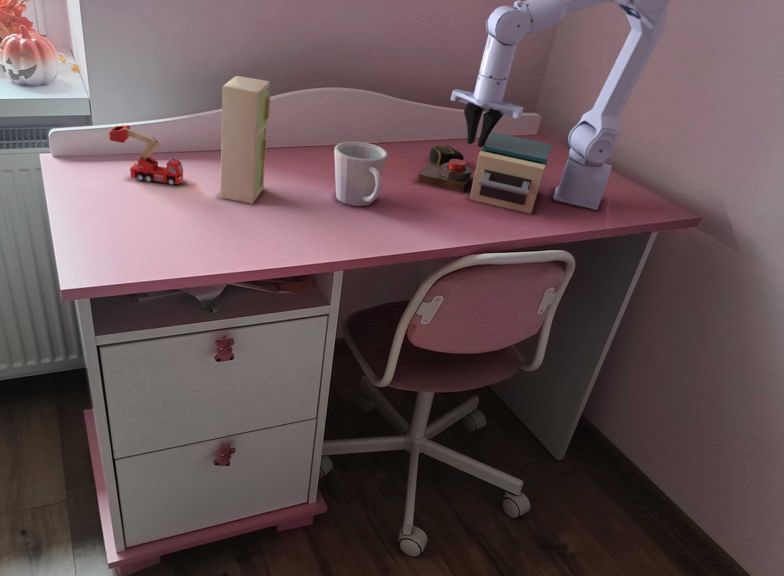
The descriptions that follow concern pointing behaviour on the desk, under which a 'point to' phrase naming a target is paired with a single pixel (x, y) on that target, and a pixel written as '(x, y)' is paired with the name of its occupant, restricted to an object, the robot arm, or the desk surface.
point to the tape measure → (444, 154)
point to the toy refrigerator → (244, 138)
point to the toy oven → (517, 148)
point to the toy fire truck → (148, 159)
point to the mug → (358, 172)
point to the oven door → (506, 181)
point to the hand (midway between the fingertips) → (476, 144)
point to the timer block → (445, 177)
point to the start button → (457, 165)
